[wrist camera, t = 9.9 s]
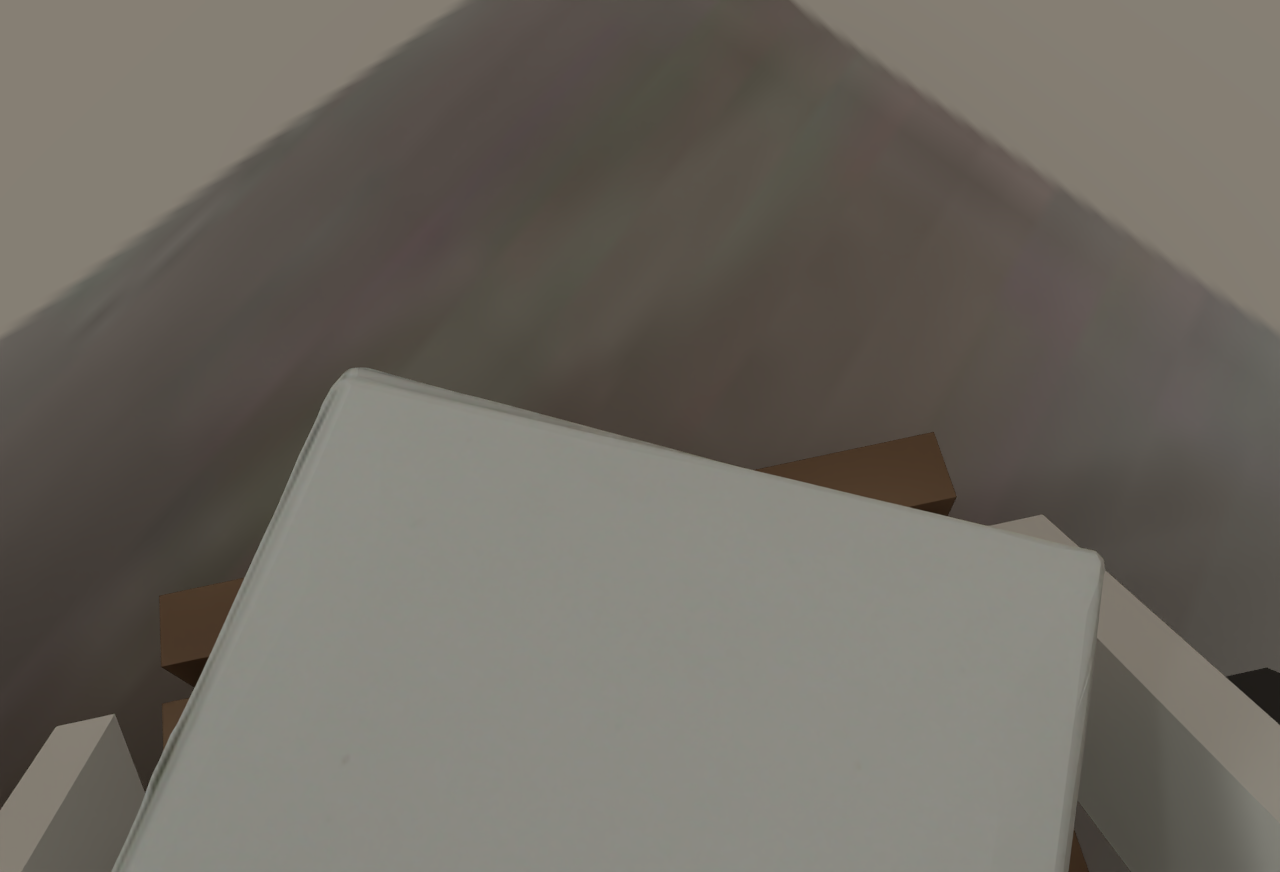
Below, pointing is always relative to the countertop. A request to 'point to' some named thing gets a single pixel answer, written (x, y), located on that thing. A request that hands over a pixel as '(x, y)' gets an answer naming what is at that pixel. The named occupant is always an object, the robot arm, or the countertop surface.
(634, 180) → the countertop surface
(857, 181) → the countertop surface
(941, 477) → the u rest
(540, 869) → the supplement box
